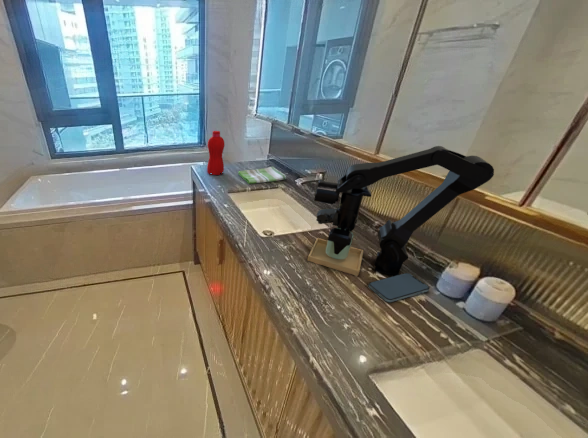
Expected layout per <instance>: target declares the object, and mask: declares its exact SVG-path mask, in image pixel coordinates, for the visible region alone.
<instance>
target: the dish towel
mask: <svg viewBox="0 0 588 438" xmlns="http://www.w3.org/2000/svg"><path fill="white" fill-rule="evenodd" d="M237 174H238V175H239V177H241V178H242V179H243V180H244V182H246V183H247V184H248V185H251V184H253V185H254V184H262V183H273V182H279V181H285V180H287V176H286V174H284V173H283V172H281V171H280V170H278V169H277V168H275V166H269V167H264V168H257V169H246V170H239V171H238V173H237Z"/></svg>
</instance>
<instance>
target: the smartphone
mask: <svg viewBox="0 0 588 438" xmlns="http://www.w3.org/2000/svg"><path fill="white" fill-rule="evenodd" d="M367 287H368V288H369V289H370V290H371V291H373V292H374V293H375V294H376V295H377V296H378V297H380V298H381V299H382V300H383V301H384V302H387V303H393V302H396V301H400V300H403V299H406V298H410V297H413V296H416V295H420V294H424V293H427V292H429V291H430V287H429V286H428V285H427V284H426V283H425V282H423V281H421V280H420V279H418V278H417V277H416V276H414V275H412V274H411V273H408V272H404V273H401V274H400V273H399V275H397V276H389V277H386V278H381V279H378V280H374V281H371V282H369V283H368V286H367Z"/></svg>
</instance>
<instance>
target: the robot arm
mask: <svg viewBox="0 0 588 438" xmlns="http://www.w3.org/2000/svg"><path fill="white" fill-rule="evenodd" d="M434 166H438V167H442V168H443V169H445V170H447V171H448V173H447V174H446V176H445V177H444V180H443V182H442V183H441V184H440V185H438V186H437V187H436V188H435V189H434V190H433V191H432V192H431V193H429V194H428V195H427V196H425V198H423V199H422V200H421V201H420V202H419V203H418V204H417V205H416V206H414V207H413V208H412V209H411V210H409V212H408V213H406V214H405V215H404V216H403V217H402V218H400V219H399V220H396V221H392V220H391V219H388V220H387V221H386V222H385V223H384V225H382V226H379V227H378V228H379V230H378V232H377V239H378V244H379V248H380V251H377V253H376V256H375V259H374V261H373V266H374V272H378V273H381V274H385V275H387V276H388V275H389V276H390V277H393V276H397V275H400V271H401V269H402V266H403V264H404V263H405V262H406V261H407V260H409V255H408V251H407V249H406V245H407V244H408V243H409V240H410V238H411V237H412V235H413V233H414V232H416V230H418V229H420V228H421V226H422V225H424V224H425V223H426V222H428V221H429V220H430V219H431V218H433V217H434V216H435V215H436V214H438V213H439V212H440V211H441V210H443V209H444V208H445V207H446V206H447V205H449V204H450V203H451V202H453V201H454V200H455V199H456V198H457V197H459V196H461V195H463V194H465V193H468V192H471V191H474V190H476V189H478V188H480V187H482V186H483V185H485V184H486V183H488V182H489V181H491V180H492V178H493V177H494V175H495V169H494V166H493V165H492V164H491V163H489V162H488V161H486V160H485V159H484V158H482V157H480V156H479V155H464V154H462V153H459V152H457V151H454V150H451V149H448V148H445V147H444V146H443V145H442V146H441V145H435V146H432V147H431V148H428V149H424V150H421V151H417V152H413V153H409V154H406V155H402V156H397V157H395V158H391V159H388V160H383V161H380V162H363V163H355V164H352V165H350V166H349V167H348V169H347V170H346V173H345V174H344V175H343V176H341V177H340V178H339V179H337V182H334V181H333V182H332V181H326V180H322V179H319V180H318V184H317V187H316V190H315V193H314V194H315V195H314V199H313V202H314V203H315V202H316V203H321V204H327V205H334V204H336V203H338V201H339V204H338V206H337V208H325V209H319V210H318V211H317V212H316V219H315V221H316V222H317V224H319V225H324V224H332V226H335V227H333V228H331V229H330V230H329V233H328V236H327V241H328V240H329V241H332V242H334V254H339V253H340V252H341V251H342V250H343V249H344V248H345V247H346V246H349V245H350V243H351V240H352V241H353V239H352V236H353V235H354V233H353V230H354V229H355V228H356V225H357V222H358V218H359V212H360V209H361V205H362V202H363V198H364V197H368V198H370V197H372V192H371V191H372V190H370V189H369V188H368V187H369V186H372V185H374V184H376V183H377V182H378V181H381V180H383V179H385V178H389V177H393V176H397V175H401V174H406V173H409V172H413V171H418V170H421V169H425V168H430V167H434ZM340 195H341V196H340ZM339 198H340V200H339ZM338 228H341V229H338ZM345 229H346V230H345ZM351 232H352V233H353V234H352V233H351ZM353 237H354V236H353ZM351 244H352V243H351Z"/></svg>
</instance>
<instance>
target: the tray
mask: <svg viewBox="0 0 588 438" xmlns="http://www.w3.org/2000/svg"><path fill="white" fill-rule="evenodd" d="M327 242H328V239H327V240H326V239H323V238H320V237H317V238H316V239H315V242H314V243H313V245H312V247H311V249H310V252H309V254H308V256H307V261H308V262H311V263H314V264H316V265H321V266H324V267H327V268H329V269H333V270H337V271H340V272H343V273H345V274H349V275H353V276H356V277H358V276H359V274H360V271H361V266H362V260H363V255H364V250H363V249H360V248H356V247H353V246H350V249H349V253H348V256H347V258H345V259H335V258H332V257H330V256H328V255H327V254H326V246H327Z"/></svg>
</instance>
